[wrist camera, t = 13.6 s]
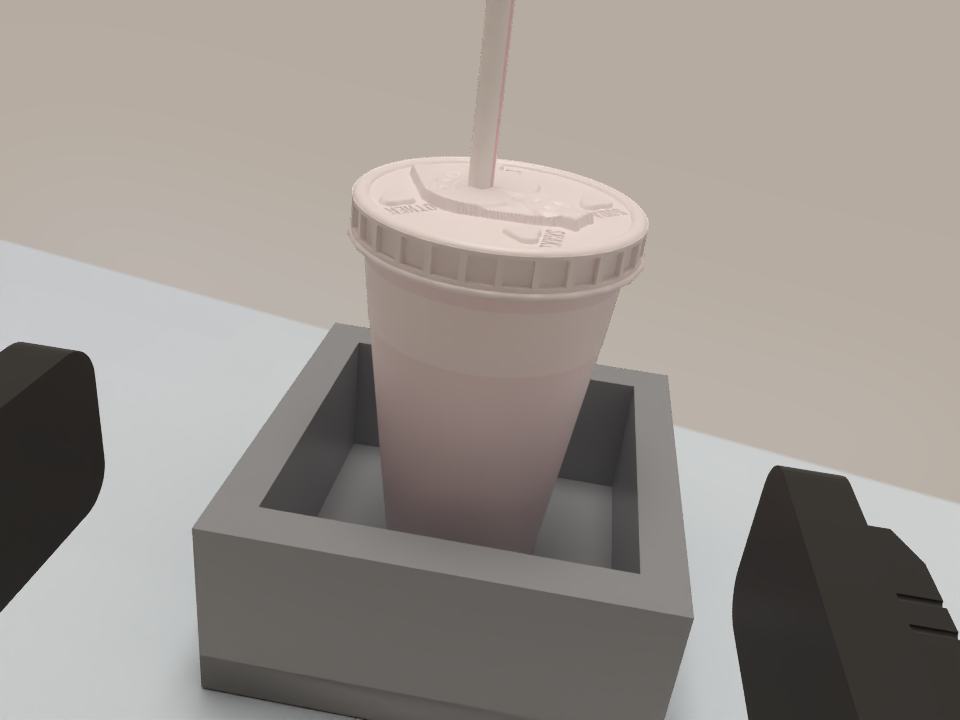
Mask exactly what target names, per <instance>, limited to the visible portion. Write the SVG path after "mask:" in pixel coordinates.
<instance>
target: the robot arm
mask: <svg viewBox="0 0 960 720" xmlns="http://www.w3.org/2000/svg"><path fill="white" fill-rule="evenodd" d="M104 470H105V460H104V451H103V442H102V433H101V424H100V415H99V407H98V398H97V389H96V380H95V373H94V368H93V364H92V362H91V360H90V358H89V357H88V356H87V355H86V354H85V353H83V352H80V351H75V350H69V349H62V348H56V347H50V346H44V345H38V344H31V343H25V342H17V343H14V344H12V345H10V346H8V347H7V348H5V349H4V350H3V351H1V352H0V612H1V611H2V610H3V609H4V608H5V607H6V606H7V604H8V603H9V602H10V601H11V600H12V599H13V598H14V597H15V595H16V594H17V593H18V592H19V591H20V590H21V589H22V588H23V586H24V585H25V584H26V583H27V582H28V581H29V580H30V579H31V577H32V576H33V575H34V574H35V573H36V572H37V571H38V570H39V568H40V567H41V566H42V565H43V564H44V563H45V562H46V561H47V559H48V558H49V557H50V556H51V555H52V554H53V553H54V552H55V550H56V549H57V548H58V547H59V546H60V545H61V544H62V543H63V541H64V540H65V539H66V538H67V537H68V536H69V535H70V534H71V532H72V531H73V530H74V529H75V528H76V527H77V526H78V525H79V523H80V522H81V521H82V520H83V519H84V518H85V517H86V516H87V514H88V513H89V512H90V511H91V509H92V507H93V506H94V504H95V502H96V500H97V498H98V495H99V493H100V490H101V487H102V483H103V478H104ZM942 603H943V600H942V598H941V596H940V594H939V591H938V589H937V587H936V585H935V583H934V581H933V579H932V577H931V575H930V573H929V571H928V569H927V567H926V565H925V563H924V562H923V561H922V560H921V559H920V558H919V557H918V556H917V555H916V554H915V553H914V552H913V551H912V550H911V549H910V548H909V547H908V546H907V545H906V544H905V543H904V542H903V541H902V540H901V539H900V538H899V537H898V536H897V535H896V534H895V533H894V532H893V531H892V530H891V529H886V528H880V527H874V526H868V525H867V523H866V520H865V518H864V515H863V513H862V511H861V508H860V506H859V504H858V501H857V499H856V496H855V494H854V492H853V489H852V487H851V484H850V483H849V481H848V479H847V478H846V477H844V476H840V475H834V474H828V473H822V472H815V471H809V470H803V469H797V468H791V467H784V466H774V467H773V468H772V469H771V471H770V473H769V474H768V477H767V479H766V482H765V484H764V488H763V491H762V494H761V497H760V501H759V504H758V507H757V510H756V513H755V517H754V520H753V523H752V526H751V530H750V533H749V536H748V539H747V543H746V546H745V549H744V552H743V556H742V559H741V562H740V565H739V568H738V572H737V576H736V581H735V586H734V594H733V607H732V619H733V630H734V636H735V642H736V648H737V654H738V660H739V666H740V672H741V678H742V684H743V690H744V696H745V702H746V708H747V714H748V719H749V720H960V640H958V631H957V629H956V627H955V625H954V623H953V620H952V618H951V616H950V614H949V612H948V610H947V609H946V608H943V607H942Z"/></svg>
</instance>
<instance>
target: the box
mask: <svg viewBox="0 0 960 720" xmlns="http://www.w3.org/2000/svg"><path fill="white" fill-rule="evenodd" d="M192 535H193V551H194V568H195V585H196V601H197V618H198V634H199V651H200V668H201V684H202V687H203V688H208V689H213V690H219V691H224V692H229V693H234V694H239V695H244V696H250V697H255V698H260V699H265V700H270V701H275V702H281V703H286V704H291V705H296V706H301V707H306V708H312V709H317V710H322V711H327V712H332V713H337V714H343V715H348V716H353V717H358V718H363V719H368V720H664V718H665V715H666V711H667V708H668V704H669V701H670V698H671V694H672V691H673V687H674V684H675V681H676V677H677V674H678V670H679V667H680V664H681V660H682V657H683V653H684V650H685V647H686V643H687V640H688V637H689V633H690V630H691V626H692V623H693V620H694V615H693V606H692V596H691V587H690V578H689V569H688V559H687V550H686V541H685V532H684V522H683V513H682V504H681V495H680V485H679V476H678V467H677V458H676V448H675V439H674V430H673V422H672V411H671V402H670V393H669V384H668V376H667V375H660V374H654V373H648V372H641V371H634V370H628V369H623V368H616V367H610V366H604V365H598V364H595V367H594V370H593V373H592V376H591V379H590V382H589V385H588V388H587V391H586V394H585V397H584V400H583V402H582V405H581V408H580V411H579V414H578V417H577V420H576V423H575V426H574V429H573V432H572V435H571V438H570V441H569V444H568V447H567V450H566V453H565V456H564V459H563V462H562V465H561V468H560V471H559V474H558V477H557V480H556V483H555V486H554V489H553V492H552V495H551V498H550V501H549V504H548V507H547V509H546V512H545V515H544V518H543V521H542V524H541V527H540V530H539V533H538V536H537V539H536V542H535V545H534V548H533V551H532V554H531V555H528V554H523V553H517V552H511V551H506V550H500V549H494V548H489V547H483V546H477V545H472V544H466V543H460V542H455V541H449V540H443V539H438V538H432V537H426V536H421V535H415V534H409V533H404V532H398V531H392V530H387V529H386V517H385V505H384V493H383V481H382V468H381V456H380V444H379V432H378V420H377V408H376V395H375V383H374V371H373V359H372V347H371V334H370V328H364V327H358V326H352V325H346V324H338V323H335V324H334V325H333V327H332V328H331V330H330V331H329V332H328V334H327V335H326V337H325V338H324V340H323V341H322V342H321V344H320V345H319V347H318V348H317V350H316V351H315V353H314V354H313V355H312V357H311V358H310V360H309V361H308V363H307V364H306V365H305V367H304V368H303V370H302V371H301V373H300V374H299V375H298V377H297V378H296V380H295V381H294V383H293V384H292V386H291V387H290V388H289V390H288V391H287V393H286V394H285V396H284V397H283V398H282V400H281V401H280V403H279V404H278V406H277V407H276V409H275V410H274V411H273V413H272V414H271V416H270V417H269V419H268V420H267V421H266V423H265V424H264V426H263V427H262V429H261V430H260V431H259V433H258V434H257V436H256V437H255V439H254V440H253V442H252V443H251V444H250V446H249V447H248V449H247V450H246V452H245V453H244V454H243V456H242V457H241V459H240V460H239V462H238V463H237V465H236V466H235V467H234V469H233V470H232V472H231V473H230V475H229V476H228V477H227V479H226V480H225V482H224V483H223V485H222V486H221V487H220V489H219V490H218V492H217V493H216V495H215V496H214V498H213V499H212V500H211V502H210V503H209V505H208V506H207V508H206V509H205V510H204V512H203V513H202V515H201V516H200V518H199V519H198V521H197V522H196V523H195V525H194V526H193V528H192Z"/></svg>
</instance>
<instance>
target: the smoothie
mask: <svg viewBox="0 0 960 720" xmlns="http://www.w3.org/2000/svg"><path fill="white" fill-rule="evenodd" d="M514 6H515V0H486V10H485V20H484V29H483V40H482V49H481V59H480V68H479V78H478V89H477V98H476V108H475V117H474V127H473V138H472V147H471V156H470V157H457V156H446V157H425V158H417V159H409V160H408V159H407V160H403V161H398V162H393V163H388V164H386V165H383V166H380V167H377V168H374V169H372V170H371V171H369V172H367V173H366V174H364V175H362V176H361V177H360V178H359V179H358V180H357V181H356V182H355V184H354V185H353V188H352V214H351V218H350V223H349V228H348V235H349V237H350V239H351V241H352V243H353V244H354V246H355V248H356V250H357V251H359V252H360V253H361V254H363V255H364V256H365V272H366V287H367V303H368V316H369V322H370V334H371V347H372V359H373V371H374V383H375V395H376V408H377V420H378V432H379V444H380V456H381V468H382V481H383V493H384V505H385V517H386V529H387V530H392V531H398V532H404V533H409V534H415V535H421V536H426V537H432V538H438V539H443V540H449V541H455V542H460V543H466V544H472V545H477V546H483V547H489V548H494V549H500V550H506V551H511V552H517V553H523V554H528V555H531V554H532V551H533V548H534V545H535V542H536V539H537V536H538V533H539V530H540V527H541V524H542V521H543V518H544V515H545V512H546V509H547V507H548V504H549V501H550V498H551V495H552V492H553V489H554V486H555V483H556V480H557V477H558V474H559V471H560V468H561V465H562V462H563V459H564V456H565V453H566V450H567V447H568V444H569V441H570V438H571V435H572V432H573V429H574V426H575V423H576V420H577V417H578V414H579V411H580V408H581V405H582V402H583V400H584V397H585V394H586V391H587V388H588V385H589V382H590V379H591V376H592V373H593V370H594V367H595V364H596V361H597V358H598V355H599V352H600V349H601V347H602V345H603V341H604V339H605V335H606V332H607V329H608V326H609V323H610V320H611V316H612V313H613V310H614V307H615V304H616V301H617V297H618V294H619V291H620V288H621V287H623V286H625V285H628V284H630V283H631V282H632V281H633V280H634V279H635V278H636V277H637V276H638V275H639V274H640V273H641V272H642V271H643V268H644V252H643V251H644V246H645V242H646V237H647V232H648V227H649V222H648V218H647V216H646V214H645V213H644V211H643V210H642V209H641V208H640V207H639V205H638V204H637V203H636V202H634V201H633V200H632V199H630V198H629V197H628V196H626V195H624V194H623V193H621V192H619V191H617V190H615V189H613V188H612V187H610V186H608V185H605V184H603V183H600V182H598V181H595V180H593V179H590V178H587V177H584V176H581V175H577V174H574V173H571V172H568V171H563V170H559V169H555V168H551V167H547V166H542V165H536V164H531V163H525V162H519V161H512V160H504V159H497V151H498V143H499V134H500V126H501V117H502V109H503V100H504V91H505V83H506V74H507V65H508V57H509V49H510V39H511V31H512V23H513V13H514Z"/></svg>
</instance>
